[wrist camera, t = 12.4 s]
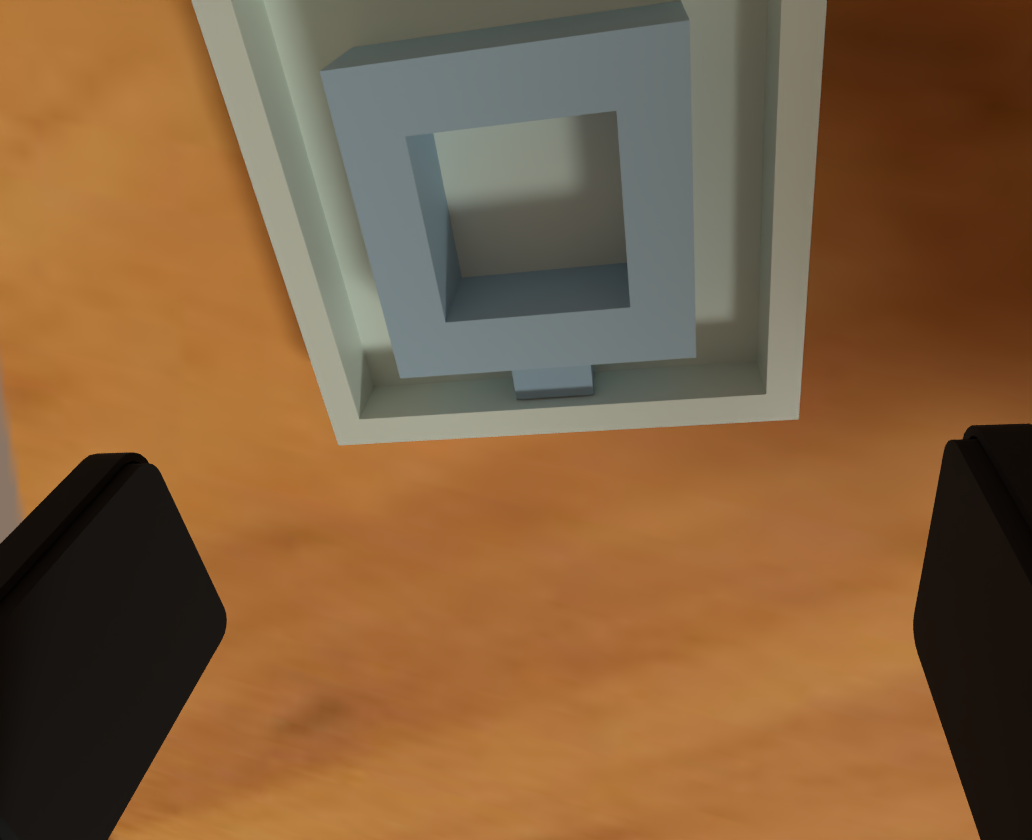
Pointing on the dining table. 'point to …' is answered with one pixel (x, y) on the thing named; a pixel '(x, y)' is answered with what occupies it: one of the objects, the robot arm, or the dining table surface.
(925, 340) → the dining table surface
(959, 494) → the robot arm
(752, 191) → the tray
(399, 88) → the blue-grey rectangular frame
